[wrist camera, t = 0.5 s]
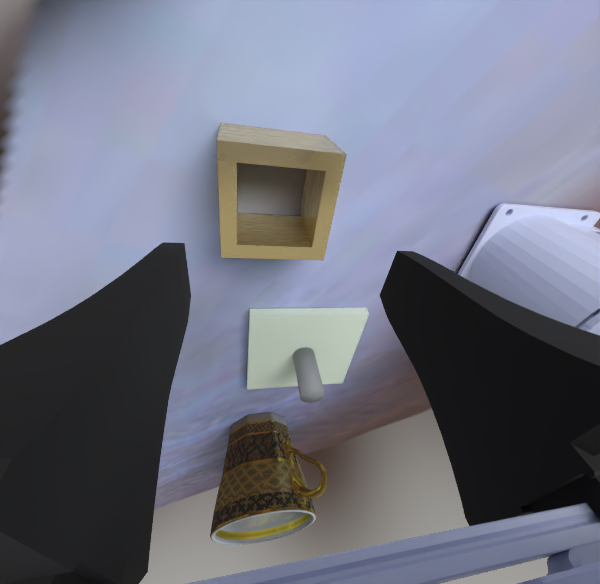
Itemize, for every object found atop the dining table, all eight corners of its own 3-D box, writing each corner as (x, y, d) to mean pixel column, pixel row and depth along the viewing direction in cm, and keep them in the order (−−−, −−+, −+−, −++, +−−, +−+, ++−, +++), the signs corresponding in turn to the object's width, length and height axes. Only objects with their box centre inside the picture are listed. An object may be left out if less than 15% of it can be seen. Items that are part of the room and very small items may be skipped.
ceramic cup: (259, 451, 39) (264, 546, 32) (198, 433, 34) (186, 543, 26) (334, 408, 35) (360, 505, 28) (279, 380, 30) (294, 491, 22)
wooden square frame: (325, 135, 16) (346, 154, 13) (309, 228, 19) (323, 260, 16) (221, 122, 15) (216, 139, 12) (224, 223, 18) (221, 257, 15)
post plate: (366, 307, 25) (389, 352, 21) (340, 376, 31) (355, 421, 27) (249, 308, 23) (251, 358, 19) (246, 382, 29) (248, 431, 25)
